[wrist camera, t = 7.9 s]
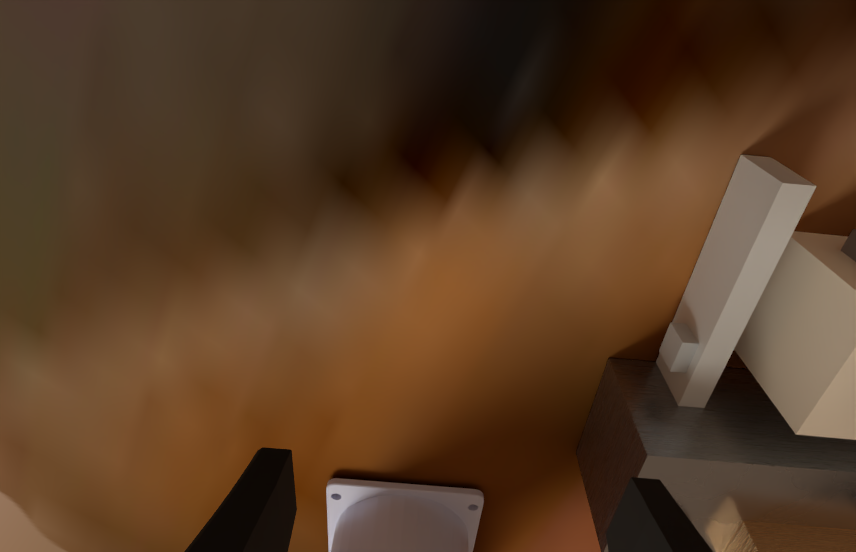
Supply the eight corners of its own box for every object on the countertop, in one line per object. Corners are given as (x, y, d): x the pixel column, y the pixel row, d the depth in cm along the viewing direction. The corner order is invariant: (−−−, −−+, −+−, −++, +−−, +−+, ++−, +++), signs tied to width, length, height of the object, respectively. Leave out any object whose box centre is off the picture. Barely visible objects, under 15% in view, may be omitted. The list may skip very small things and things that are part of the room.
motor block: (862, 475, 25) (971, 614, 20) (575, 452, 25) (610, 586, 20) (935, 385, 22) (1089, 520, 17) (608, 357, 22) (659, 486, 17)
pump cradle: (903, 382, 22) (952, 428, 20) (641, 360, 22) (662, 404, 20) (1056, 182, 17) (1141, 214, 15) (723, 152, 17) (761, 181, 15)
